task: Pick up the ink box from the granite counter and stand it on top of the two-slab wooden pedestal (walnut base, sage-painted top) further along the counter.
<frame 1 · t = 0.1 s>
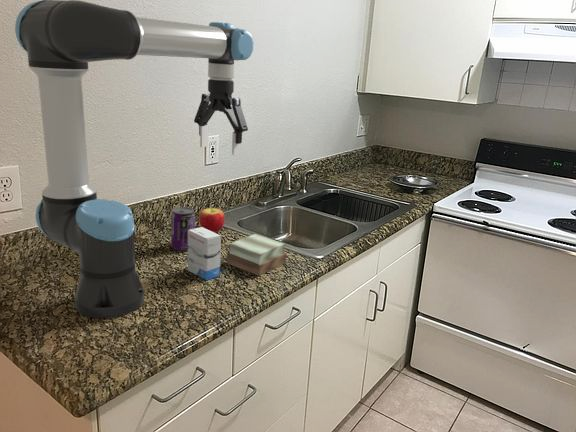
hand: (219, 150, 149), 28 cm above the worktop, fingers open, 13 cm apart
ink box: (203, 273, 131), on the worktop
apple: (211, 232, 161), on the worktop
beverage can: (183, 248, 146), on the worktop
pedestal: (256, 263, 139), on the worktop
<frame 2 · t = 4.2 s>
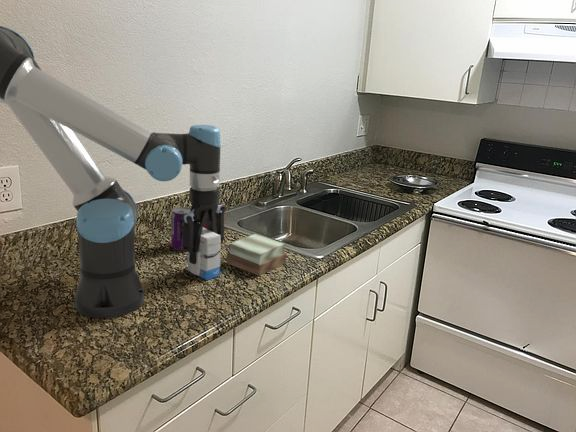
hand: (203, 270, 131), 1 cm above the worktop, fingers closed on ink box, 5 cm apart
ink box: (203, 273, 131), on the worktop, touching gripper
everything else where it was.
when the fingers open (8 cm above the worktop, at t = 10.1 s): ink box drops 1 cm, resting on pedestal.
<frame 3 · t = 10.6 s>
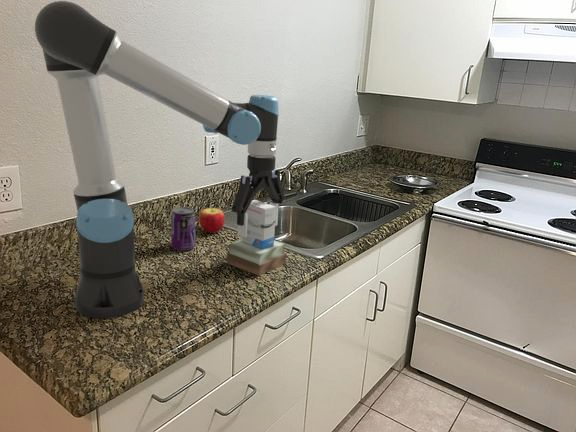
hand: (258, 229, 136), 10 cm above the worktop, fingers open, 13 cm apart
ink box: (257, 244, 137), point 6 cm above the worktop, touching pedestal
everything else where it was.
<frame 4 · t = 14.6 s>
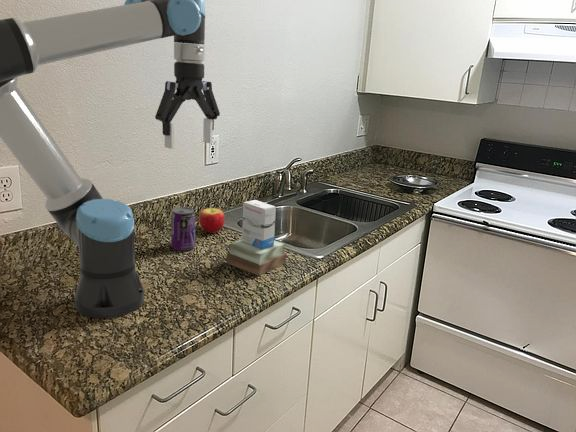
hand: (189, 145, 129), 33 cm above the worktop, fingers open, 13 cm apart
nothing on the worktop moved.
at the end: ink box inside the target area on the pedestal (0.2 cm from its centre), point 5.8 cm above the pedestal's base; ink box tilted 0°; the gripper is holding nothing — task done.
